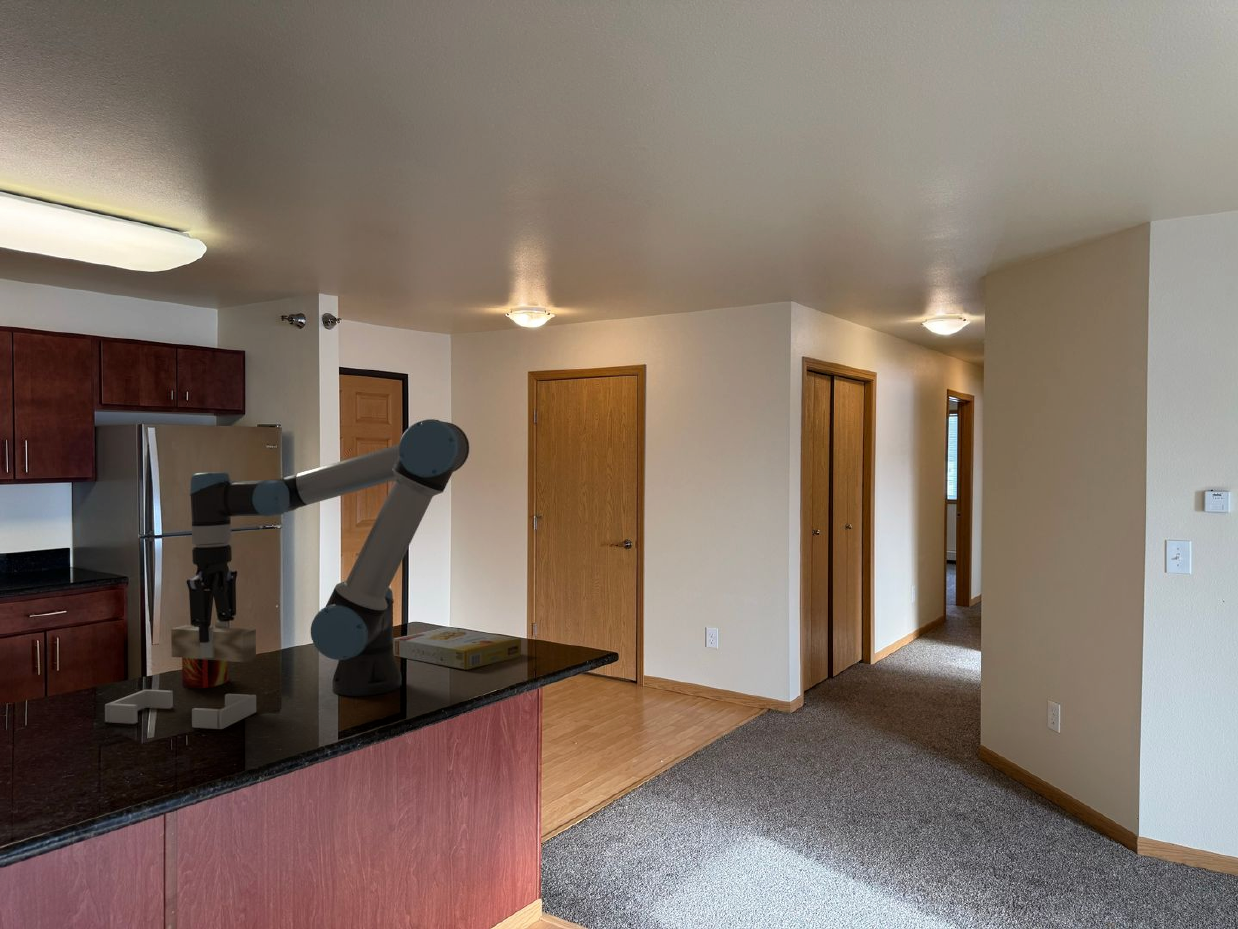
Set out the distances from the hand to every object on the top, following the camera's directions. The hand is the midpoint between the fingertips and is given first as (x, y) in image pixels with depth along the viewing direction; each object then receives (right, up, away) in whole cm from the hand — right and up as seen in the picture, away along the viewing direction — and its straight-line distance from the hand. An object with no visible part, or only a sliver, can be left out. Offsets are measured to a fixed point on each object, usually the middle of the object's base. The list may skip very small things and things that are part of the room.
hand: (215, 654), depth 179 cm
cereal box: (+43, -11, +43) cm, 62 cm away
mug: (-9, -11, +17) cm, 22 cm away
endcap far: (-12, -11, -6) cm, 18 cm away
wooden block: (0, -1, 0) cm, 1 cm away
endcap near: (+6, -11, -10) cm, 16 cm away
